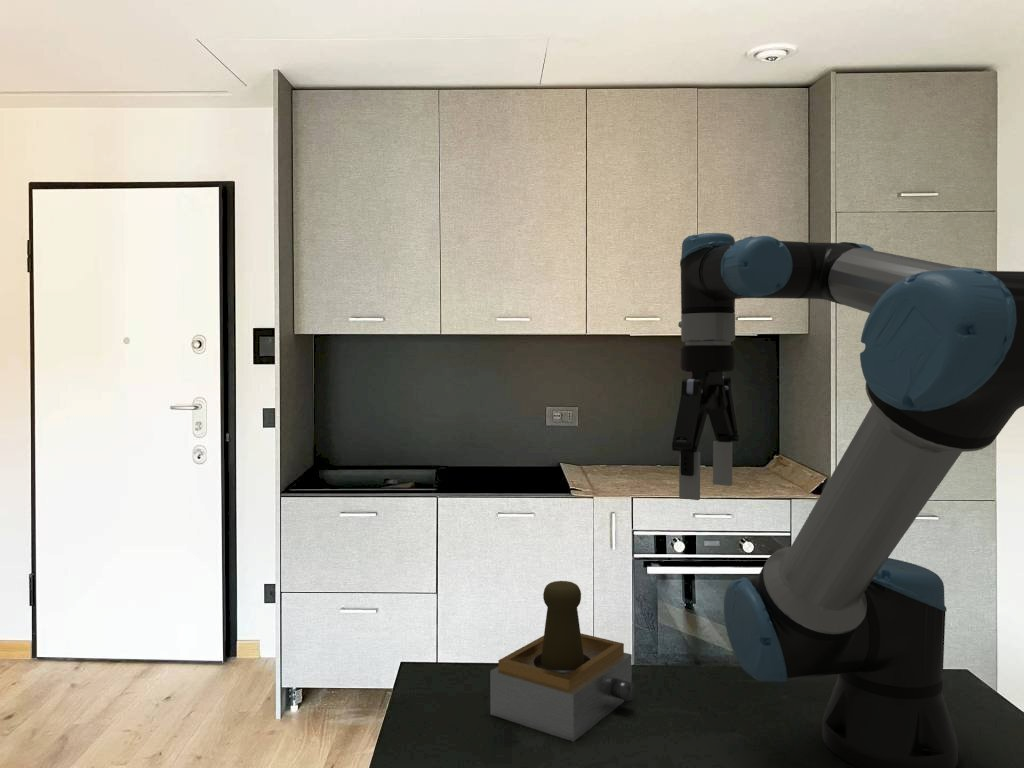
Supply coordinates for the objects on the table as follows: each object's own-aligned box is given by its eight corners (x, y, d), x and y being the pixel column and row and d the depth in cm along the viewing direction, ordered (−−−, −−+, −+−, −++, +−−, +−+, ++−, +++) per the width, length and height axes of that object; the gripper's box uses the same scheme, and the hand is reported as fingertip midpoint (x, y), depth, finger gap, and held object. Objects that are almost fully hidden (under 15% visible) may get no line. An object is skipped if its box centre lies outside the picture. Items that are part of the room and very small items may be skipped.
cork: (581, 652, 113) (581, 576, 113) (587, 670, 107) (586, 589, 107) (539, 653, 113) (538, 577, 113) (542, 671, 107) (541, 590, 106)
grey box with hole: (647, 700, 112) (647, 647, 112) (590, 747, 99) (590, 688, 98) (553, 674, 121) (553, 625, 120) (490, 714, 108) (490, 659, 107)
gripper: (712, 344, 127) (711, 477, 128) (647, 343, 106) (647, 502, 107) (759, 344, 123) (758, 481, 124) (702, 343, 102) (701, 508, 103)
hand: (706, 491), depth 115 cm, fingers open, 13 cm apart
